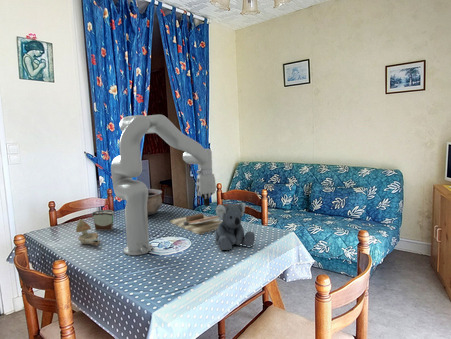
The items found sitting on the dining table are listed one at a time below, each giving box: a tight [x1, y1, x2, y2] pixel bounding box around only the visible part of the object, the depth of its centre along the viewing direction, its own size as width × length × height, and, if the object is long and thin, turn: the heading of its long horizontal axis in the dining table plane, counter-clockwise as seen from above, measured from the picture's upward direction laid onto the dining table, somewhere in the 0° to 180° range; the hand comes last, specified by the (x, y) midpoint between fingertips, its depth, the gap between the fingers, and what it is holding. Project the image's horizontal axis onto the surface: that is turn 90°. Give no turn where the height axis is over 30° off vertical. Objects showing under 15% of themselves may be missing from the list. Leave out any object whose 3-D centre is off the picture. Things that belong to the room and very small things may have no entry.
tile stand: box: [169, 213, 223, 235], centre depth 177 cm, size 30×20×4 cm, turn 39°
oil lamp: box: [75, 218, 101, 246], centre depth 151 cm, size 9×21×10 cm, turn 42°
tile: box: [188, 215, 220, 224], centre depth 173 cm, size 13×14×2 cm
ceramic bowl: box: [147, 188, 163, 216], centre depth 201 cm, size 22×22×15 cm
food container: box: [91, 209, 115, 231], centre depth 174 cm, size 12×6×10 cm, turn 84°
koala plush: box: [214, 202, 256, 251], centre depth 144 cm, size 17×18×20 cm
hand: (206, 205), depth 170 cm, fingers closed
